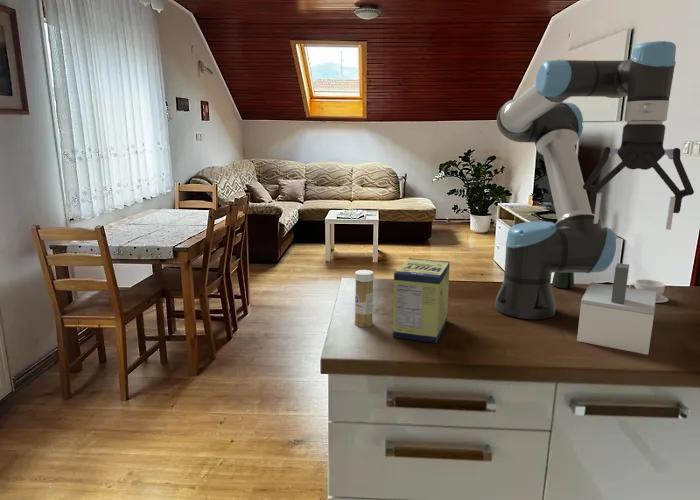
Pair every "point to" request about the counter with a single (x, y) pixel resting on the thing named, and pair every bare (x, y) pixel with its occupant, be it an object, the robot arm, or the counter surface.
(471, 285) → the counter surface
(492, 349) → the counter surface
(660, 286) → the teacup
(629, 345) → the carton
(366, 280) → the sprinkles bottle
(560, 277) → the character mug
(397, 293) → the protein box
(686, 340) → the counter surface
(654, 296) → the lid flap
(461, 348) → the counter surface
